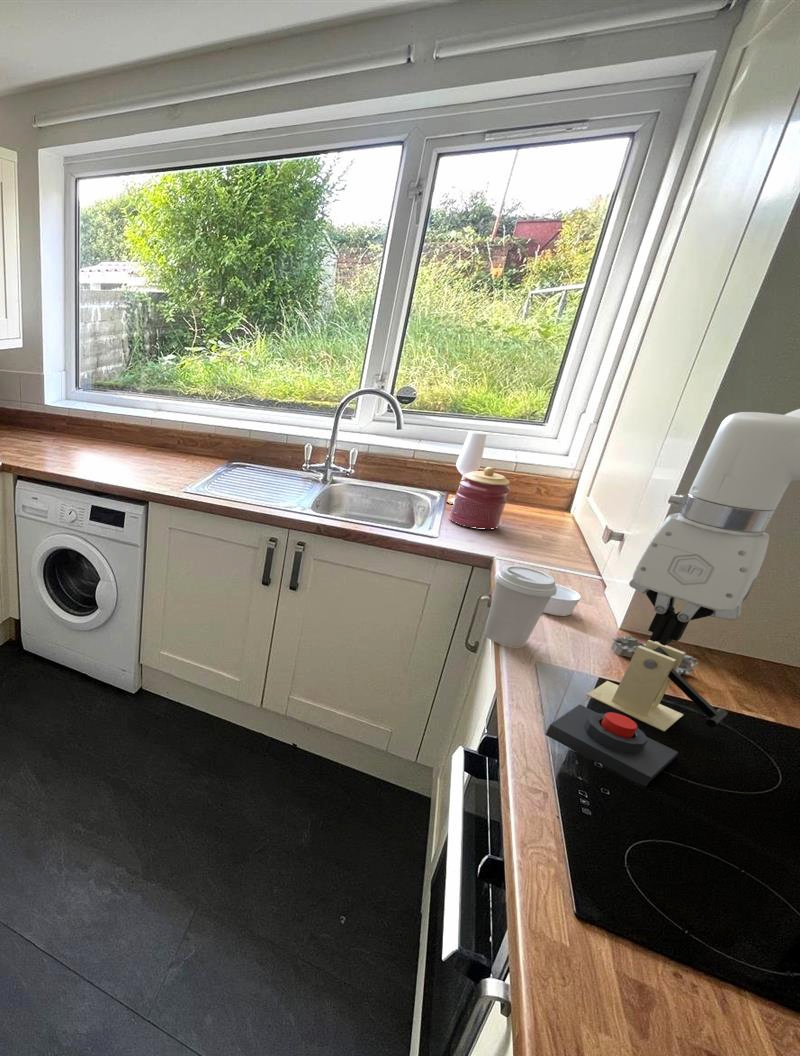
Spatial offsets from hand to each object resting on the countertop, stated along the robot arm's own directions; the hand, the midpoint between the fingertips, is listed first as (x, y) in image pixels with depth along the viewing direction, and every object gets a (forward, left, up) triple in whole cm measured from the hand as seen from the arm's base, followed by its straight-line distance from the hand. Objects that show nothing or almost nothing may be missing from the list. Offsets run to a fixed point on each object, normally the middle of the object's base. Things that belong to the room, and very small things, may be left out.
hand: (661, 640), depth 79 cm
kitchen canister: (+63, -84, -19) cm, 107 cm away
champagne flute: (+76, -99, -19) cm, 126 cm away
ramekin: (+26, -43, -19) cm, 54 cm away
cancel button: (0, 0, -15) cm, 15 cm away
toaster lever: (-1, -15, -12) cm, 20 cm away
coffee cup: (+23, -18, -19) cm, 35 cm away
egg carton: (+6, -34, -19) cm, 40 cm away
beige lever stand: (+2, -15, -19) cm, 24 cm away
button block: (0, 0, -19) cm, 19 cm away
